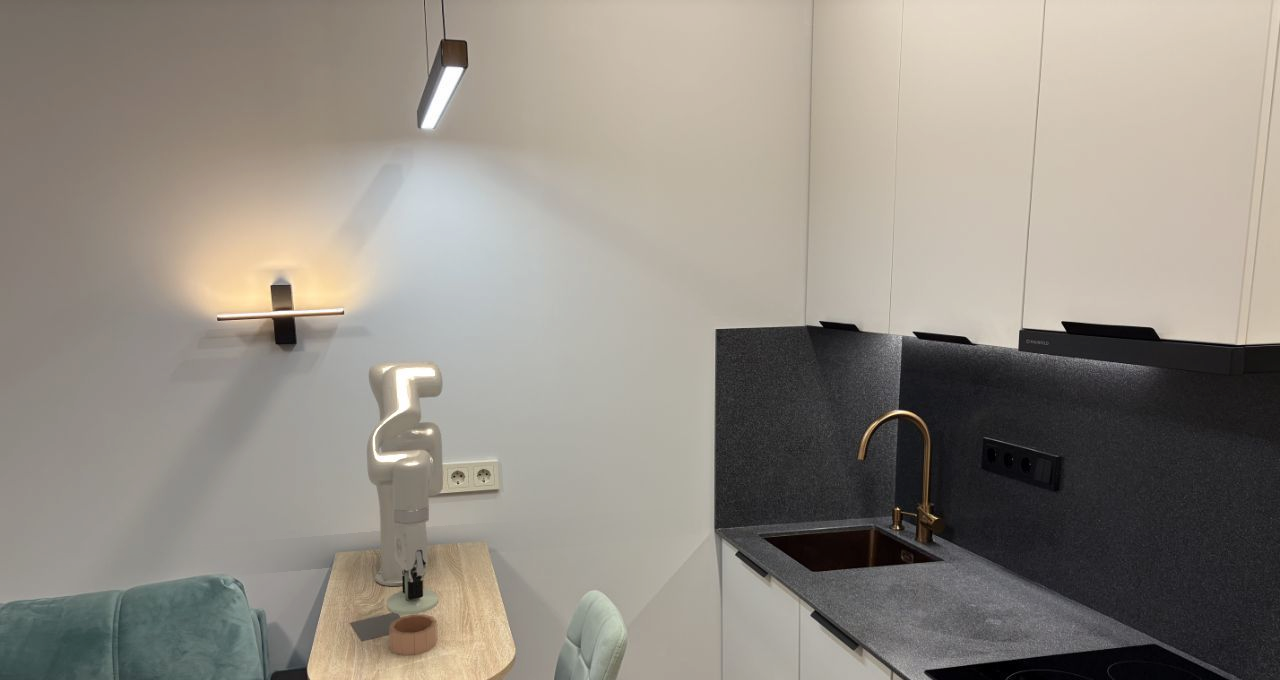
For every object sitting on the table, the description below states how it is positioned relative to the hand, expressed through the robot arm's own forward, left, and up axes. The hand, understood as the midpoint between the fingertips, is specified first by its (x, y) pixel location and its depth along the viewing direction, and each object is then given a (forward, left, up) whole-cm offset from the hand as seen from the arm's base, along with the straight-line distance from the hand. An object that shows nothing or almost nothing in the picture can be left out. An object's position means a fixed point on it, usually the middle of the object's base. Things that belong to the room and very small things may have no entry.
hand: (412, 594), depth 172 cm
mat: (-13, -4, -12) cm, 18 cm away
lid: (0, 0, -2) cm, 2 cm away
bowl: (0, 0, -12) cm, 12 cm away
